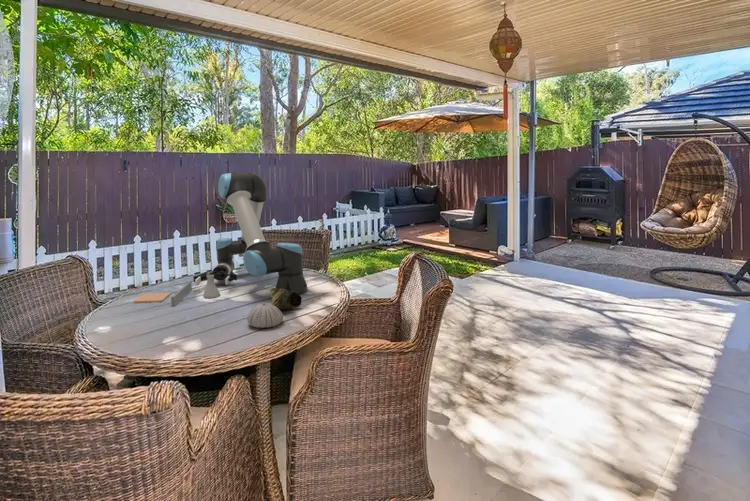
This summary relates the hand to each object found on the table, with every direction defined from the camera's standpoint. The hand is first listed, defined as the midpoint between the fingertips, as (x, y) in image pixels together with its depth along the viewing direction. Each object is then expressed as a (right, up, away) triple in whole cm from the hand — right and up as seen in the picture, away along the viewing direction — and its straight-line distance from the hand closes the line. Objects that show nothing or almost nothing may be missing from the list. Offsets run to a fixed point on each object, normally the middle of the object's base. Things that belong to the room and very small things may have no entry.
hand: (211, 282), depth 208 cm
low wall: (-12, -7, -3) cm, 14 cm away
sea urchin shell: (+35, -13, -38) cm, 53 cm away
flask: (+1, -7, -2) cm, 7 cm away
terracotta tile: (-25, -7, -5) cm, 26 cm away
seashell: (+39, -10, -23) cm, 46 cm away
